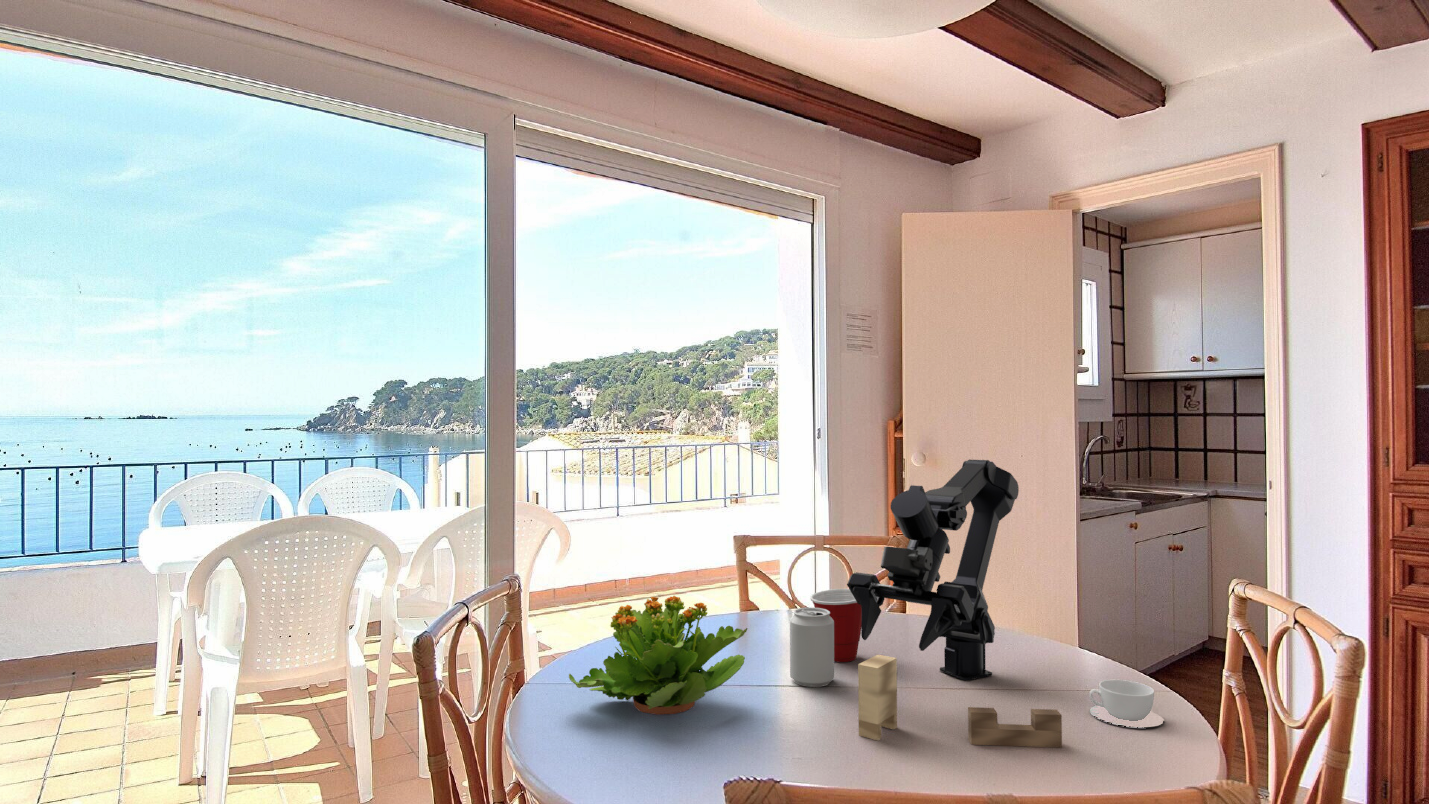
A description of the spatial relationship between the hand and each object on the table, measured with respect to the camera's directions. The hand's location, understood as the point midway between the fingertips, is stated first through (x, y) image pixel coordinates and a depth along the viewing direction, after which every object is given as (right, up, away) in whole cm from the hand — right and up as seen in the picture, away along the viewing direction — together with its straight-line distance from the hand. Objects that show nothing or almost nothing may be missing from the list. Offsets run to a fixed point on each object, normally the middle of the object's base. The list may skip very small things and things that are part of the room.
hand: (891, 643), depth 122 cm
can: (-10, -12, +19) cm, 24 cm away
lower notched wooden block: (+15, -11, -8) cm, 21 cm away
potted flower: (-33, -12, +8) cm, 36 cm away
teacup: (+35, -12, +2) cm, 37 cm away
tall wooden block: (-3, -12, -4) cm, 12 cm away
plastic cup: (-3, -12, +32) cm, 34 cm away
